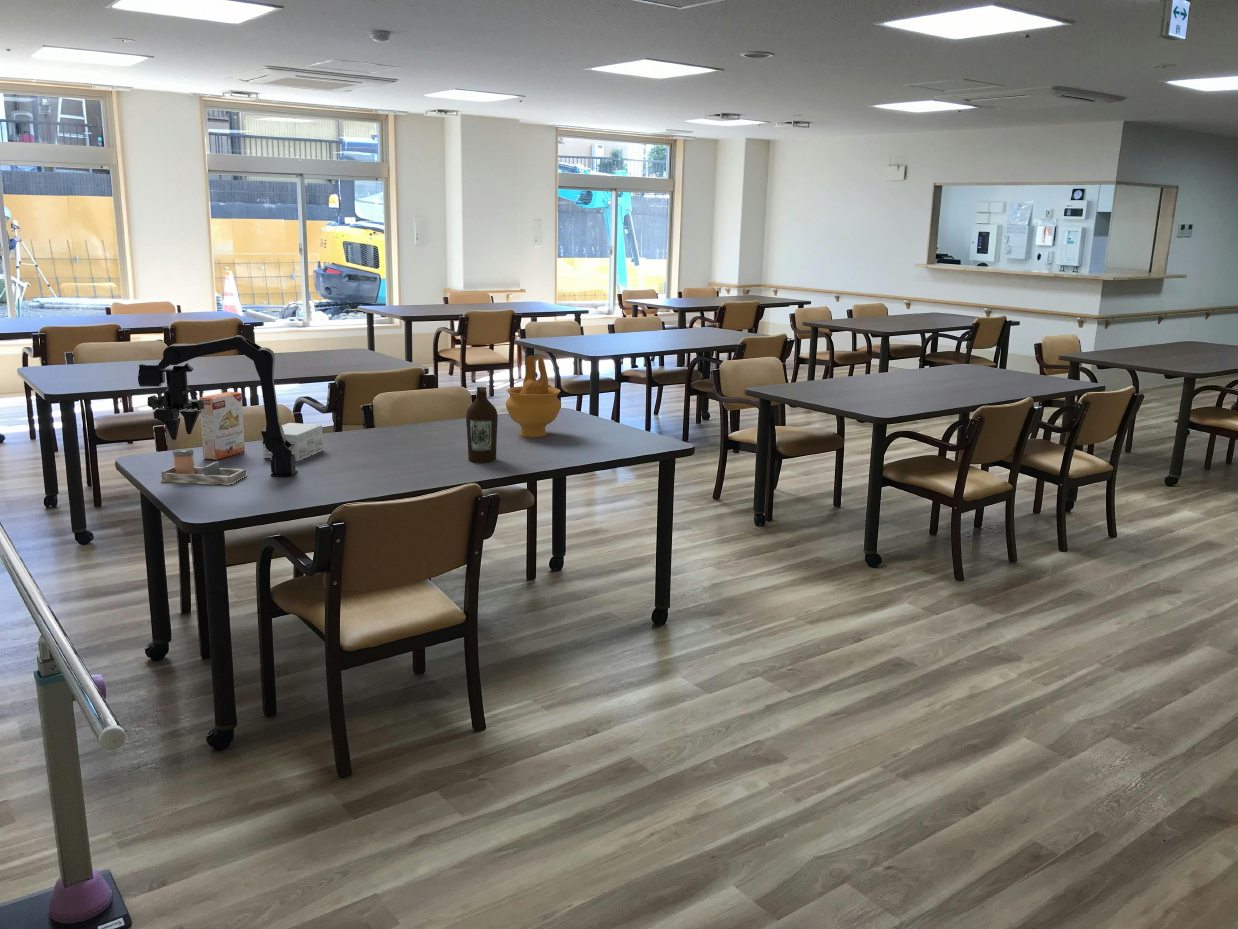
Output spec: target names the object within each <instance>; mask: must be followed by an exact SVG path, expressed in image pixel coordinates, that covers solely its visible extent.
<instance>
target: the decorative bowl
mask: <svg viewBox="0 0 1238 929" xmlns="http://www.w3.org/2000/svg"><path fill="white" fill-rule="evenodd" d="M537 363H538V364H537V366H538V371H539V374H540V375H539V376H540V377H539V379H537V377H536V373H537V372H536V366H535V364H536V360H535V356H534V355H529V356H527V357H526V358H525V363H524V364H525V368H526V369H525V370H526V373H525V377H524V379H523V381H522V386H521V385H520V386H513V387H508V388H507V389H506V392H507V393H508V394H509V397H508V398H507V399H506V402H505V407H506V410H507V413H508V415H509V417H510V419H511V420H512V421H513V422H515V423H516V424H518V425H519V426H520V427H521V430H520V432H519V435H520V434H521V436H522V437H528V438H540V437H541V438H542V437H545V436H548V433H547V431H546V427H547V426H548V425H549V424H551V423H552V422H554V421H555V420H556V419H557V417H558V415H559V413H560V411H561V407H562V402H561V400H560V398H558V395H559V394H560V392H561V390H560V389H559V388H556V387H552V386H549V378H548V374H547V369H546V364H545V361H544V359H543V357H542V356H541V355H540V356H539V357H538V359H537Z"/></svg>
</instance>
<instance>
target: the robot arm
mask: <svg viewBox="0 0 1238 929" xmlns="http://www.w3.org/2000/svg"><path fill="white" fill-rule="evenodd" d="M234 350H235V351H236V350H237V351H239V352H240V353H241V354H242V355H244V356H245V357H247V358H248V359H250V360H251V361H252V362H253V364H254V367H255V371H256V373H257V376H258V378H259V380H260V388H261V394H262V401H263V407H264V408H263V409H264V414H265V421H266V424H265V425H266V426H265V427H262V429H261V431H260V432H261V437H262V436H263V440H262V445H263V444H265V447H266V449H267V450H269V451H270V452H272V454H273V455H272V459H269V460H270V472H271V473H270V474H269V475H270V477H286V478H287V477H292V476H295V474H297V473H298V472H299V470H296V469H297V468H296V461H295V454H291V453H292V450H293V445H292V444H291V443H290V442H288V441H287V440H286V437H285V434H284V431H283V428H282V424H281V421H280V415H279V409H278V402H277V401H278V400H277V393H276V386H275V380H274V379H275V377H274V374H275V363H276V362H275V361H276V355H275V352H274V351H273V350H272V349H271V348H269V347H266V346H265V347H262V346H260V345H259V344H257V343H255V342H253V341H251V340H249V339H248V338H246V337H244V336H243V335H241V334H240V335H239V334H238V335H235V336H231V337H226V338H220V339H215V340H209V341H204V342H198V343H173V344H170V345H169V346H167V347H166V348H165V349H164V350H163V352H162V359H161V360H160V361H159V362H158V363H157V364H156V363H155V364H154V363H153V364H149V363H148V364H147V363H140V364H139V365H138V375H137V383H138V387H140V388H146V387H147V388H153V387H154V388H157V387H159V388H160V387H162V384H165V383H166V389H164V390H163V395H161V396H156V395H155V394H153V395H150V396H148V397H147V406H148V407H149V408H151V409H152V411H153V413H152V417H153V419H154V420H157V421H159V422H162V423H163V424H164V426H165V427H166V429H167V431H168V434H169V436H170V438H171V440H172V441H176V440H177V437H178V433H179V428H180V423H181V418H183V422H184V426H185V431H186V434H187V435H191V434H192V433H193V429H194V427H195V425H196V423H197V420H198V418H199V416H200V413H201V410H202V409H204V403H203V402H202V401H201V400H199V399H190V398H189V393H192V389H191V388H189V385H188V373H192V371H194V367H192V365H190V364H189V363H188V361H191V360H194V359H196V358H199V357H203V356H209V355H215V354H219V353H225V352H229V351H230V352H231V351H234ZM183 363H185V364H184V365H180V364H183ZM170 366H173V367H172V368H168V367H170ZM180 415H181V416H182V417H180Z"/></svg>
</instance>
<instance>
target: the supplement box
mask: <svg viewBox="0 0 1238 929" xmlns="http://www.w3.org/2000/svg"><path fill="white" fill-rule="evenodd" d="M281 426H282V428H283V431H284V434H285V437H286V440H287V441H288V442H290V443H291V444H292V445H293V450H292V453H291V454H295V462H299V460H300V461H302V460H304V458H305V459H306V458H309V457H311V455H312V456H314V455H316V454H319V453H321V452H323V451H324V450H325V449H324V438H323V425H322V424H314V423H312V424H309V423H298V422H288V423H285V424H281ZM261 437H262V441H263V436H262V435H261ZM262 452H263V453H262V454H263V459H264V458H271V459H270V460H272V455H273V454H272V452H270V451H269V450H267V449H266V447H265V444H263V443H262Z"/></svg>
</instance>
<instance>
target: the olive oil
mask: <svg viewBox="0 0 1238 929" xmlns="http://www.w3.org/2000/svg"><path fill="white" fill-rule="evenodd" d="M487 392H488V391H487V387H486V386H477V387H476V399H474V401H473V402H472V403H471V404H470V405H469V406H468V408H467V409H466V414H465V420H466V421H465V422H466V435H467V437H466V438H467V439H466V440H467V457H468V461H469V462H472V463H477V464H480V463H481V464H487V463H493V462H495V461H496V460H497V446H498V445H497V442H498V440H497V439H498V438H497V436H498V423H499V422H498V419H499V416H498V411H497V409H496V406H494V404H492V402H490V400H488V398H487V397H488V393H487Z"/></svg>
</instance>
